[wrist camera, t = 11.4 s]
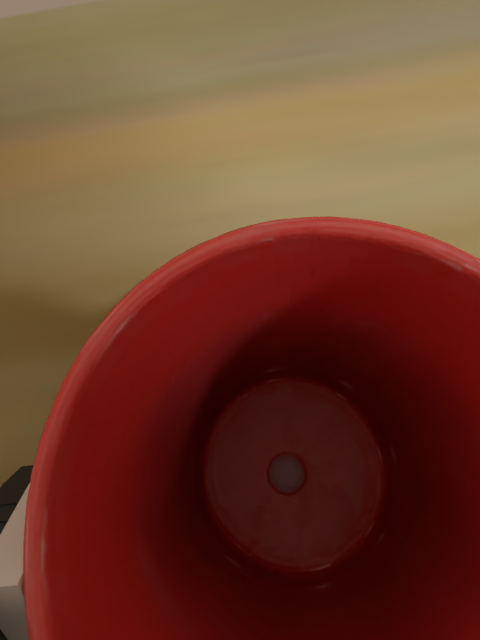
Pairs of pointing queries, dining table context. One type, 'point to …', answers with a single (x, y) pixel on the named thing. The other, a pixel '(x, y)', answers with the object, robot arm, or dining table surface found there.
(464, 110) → the dining table surface
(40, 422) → the dining table surface
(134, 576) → the flower pot
